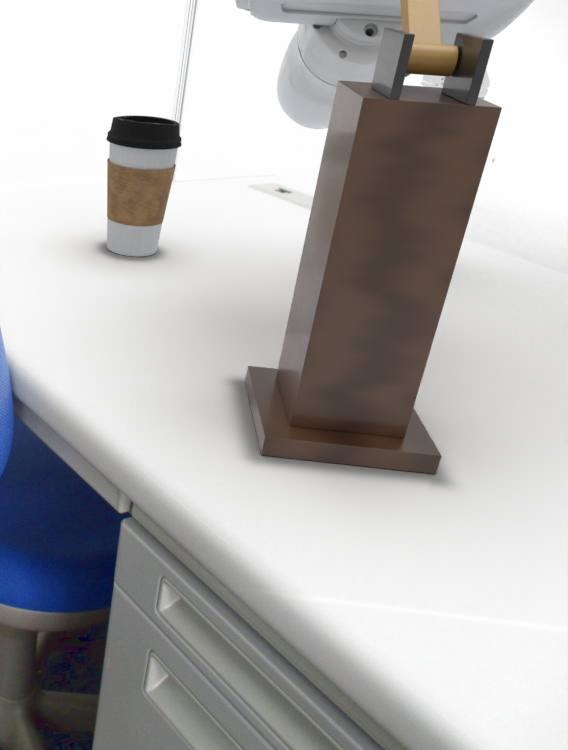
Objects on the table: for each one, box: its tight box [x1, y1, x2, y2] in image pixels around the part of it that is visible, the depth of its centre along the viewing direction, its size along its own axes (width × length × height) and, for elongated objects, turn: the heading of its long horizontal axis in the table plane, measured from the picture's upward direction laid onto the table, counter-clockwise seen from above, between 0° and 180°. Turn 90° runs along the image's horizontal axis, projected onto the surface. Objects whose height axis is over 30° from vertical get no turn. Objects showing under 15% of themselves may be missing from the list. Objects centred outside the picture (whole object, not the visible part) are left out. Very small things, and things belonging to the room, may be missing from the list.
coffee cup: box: [106, 115, 182, 258], centre depth 99 cm, size 8×8×15 cm
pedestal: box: [244, 27, 503, 475], centre depth 60 cm, size 12×12×28 cm
